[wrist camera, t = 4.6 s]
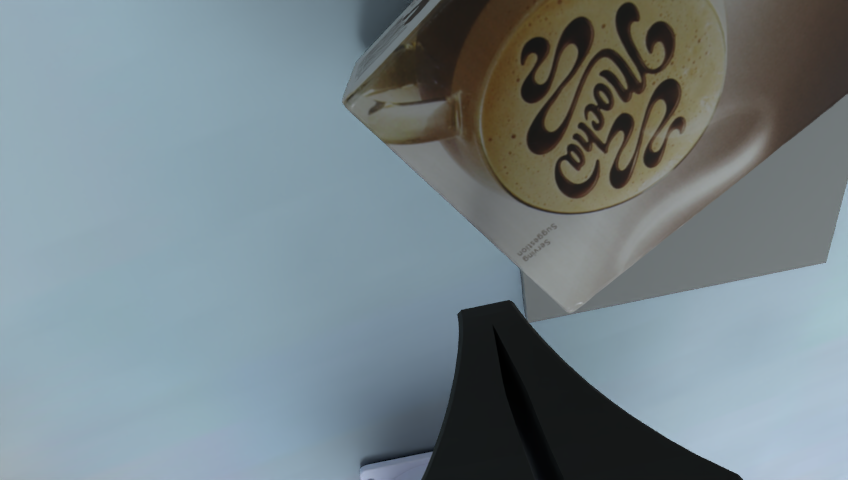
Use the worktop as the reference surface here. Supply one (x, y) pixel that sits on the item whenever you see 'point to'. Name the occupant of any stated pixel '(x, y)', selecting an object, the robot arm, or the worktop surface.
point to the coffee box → (595, 115)
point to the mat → (741, 225)
